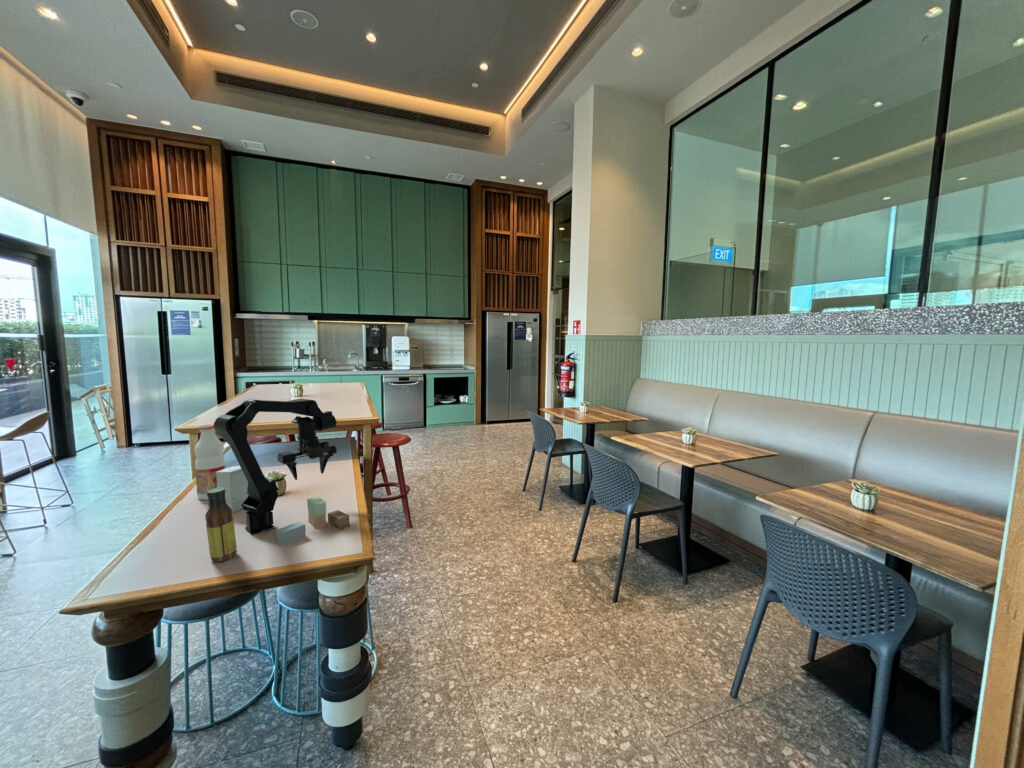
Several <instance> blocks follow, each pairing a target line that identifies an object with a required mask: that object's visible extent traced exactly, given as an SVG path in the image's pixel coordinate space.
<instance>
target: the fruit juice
mask: <svg viewBox="0 0 1024 768" xmlns="http://www.w3.org/2000/svg"><path fill="white" fill-rule="evenodd" d="M199 431H200V437H199V440H198V442H197V443H196V444H195V445H194V449H193V450H194V452H193V453H194V454H195V456H196V458H195V461H194V469H195V481H196V496H197V498H198V500H201V501H209V498H208V496H207V491H209V490H211V489H214V488H217V476H216V472H217V471H220V470H223V469H226V459H225V455H223V453H224V452H223V451H224V449H225V448H224V444H223V442H222V441H221V440H220V439H219V438H218V435H217V433H216V430H215V429H214V424H203V425H200V426H199Z"/></svg>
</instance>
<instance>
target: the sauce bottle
mask: <svg viewBox="0 0 1024 768" xmlns="http://www.w3.org/2000/svg"><path fill="white" fill-rule="evenodd" d="M207 496H208V498H209V500H208V510H207V511H206V512H205V515H204V517H205V525H206V535H207V542H208V550H209V557H210V560H211V561H212V562H215V563H219V562H226V561H229V560H230V559H232V558H234V557H235V556H237V552H238V551H237V550H238V548H237V547H238V545H237V539H236V531H235V522H234V517H233V513H232V510H231V508H230V507H229V506H228V505H227V503H226V500H225V488H214V489H211V490H209V491H207Z"/></svg>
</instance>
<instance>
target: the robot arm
mask: <svg viewBox="0 0 1024 768" xmlns="http://www.w3.org/2000/svg"><path fill="white" fill-rule="evenodd" d="M261 412H262V413H291V414H295V415H296V416H295V417H294V418H293V419H292V421H291V424H296V425H297V434H298V435H297V436H296V440H297V441H298V447H297V452H293V451H290V450H289V451H284V452H279V453H278V454H277V456H276V457H277V458H276V459H277V462H279V463H281V464H282V465H286V466H287V467H288V469H289V471H290V473H291V475H292V477H293V479H294V480H295V481H297V480H298V472H297V470H298V469H297V463H298V462H297V461H296V460H297V459H299V458H304V457H308V458H309V459H312V460H314V459H317V458H318V459H319V469H320V473H321V474H324V472H325V469H326V466H327V464H328V461H329V459H330V458H332V457H333V456H334V455H335V454H337V453H338V448H337V446H336V445H335V444H333V443H332V444H331V443H329V442H328V441H323V442H320V441H319V438H318V437H319V436H317V432H324V431H329V430H332V429H336V427H337V419H336V417H335V415H334V414H333V411H331V410H327V411H322V410H321V408H320V407H319V404H318V403H317V401H316V400H314V399H308V398H296V399H290V400H287V401H286V400H268V399H267V400H262V399H261V400H260V399H254V398H253V399H252V398H248V399H245V400H244V401H243V402H242V403H240V404H238V405H237V406H235V407H233V408H231V409H229V410H227V412H225V413H224V414H221V415H219V416H218V417H217V418H216V419H215V421H214V423H213V425H214V429H215V432H216V434H218V435H219V436H220V438H222V440H224V442H225V443H227V444H228V445H229V446H230V449H231V451H232V453H233V455H234V457H235V458H236V461H237V463H238V466H240V467H241V469H242V471H243V473H244V475H245V477H246V479H247V481H248V488H247V491H248V495H249V496H248V497H247V498H246V500H245V501H244V502H243V503H242V505H241V506H242V508H241V509H243V511H245V514H246V515H245V518H246V526H245V528H244V529H245V530H246V531H247V532H248V533H249V534H250V535H255V534H258V533H262V532H265V531H267V530H272V529H274V528H275V526H274V513H273V511H274V508H275V505H276V501H277V499H278V497H279V491H280V489H279V487H278V486H277V483H276V480H275V479H272V478H269V477H265V475H264V473H263V471H262V469H261V466H260V464H259V462H258V460H257V458H256V456H255V453H254V452H253V449H252V447H251V446H250V443H249V441H248V436H249V429H248V427H247V426H248V425H250V424H251V423H252V422H253V420H254V418H255V417H256V416H257V414H259V413H261ZM299 415H302V416H304V417H302V416H299ZM311 417H312V418H311Z"/></svg>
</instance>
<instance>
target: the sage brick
mask: <svg viewBox="0 0 1024 768" xmlns="http://www.w3.org/2000/svg"><path fill="white" fill-rule="evenodd" d="M306 503H307V512H308V511H309V512H310V513H311V514H313V515H314V516H315V517H317V516H320V515H324V514H326V515H327V502H326V500H324V499H322V498H321V497H320V496H314V497H310V498H307V499H306Z"/></svg>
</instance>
